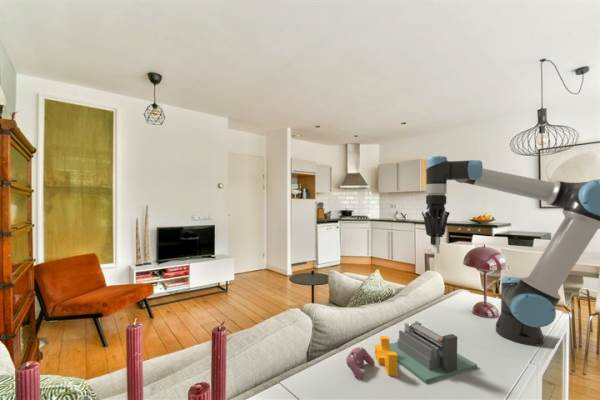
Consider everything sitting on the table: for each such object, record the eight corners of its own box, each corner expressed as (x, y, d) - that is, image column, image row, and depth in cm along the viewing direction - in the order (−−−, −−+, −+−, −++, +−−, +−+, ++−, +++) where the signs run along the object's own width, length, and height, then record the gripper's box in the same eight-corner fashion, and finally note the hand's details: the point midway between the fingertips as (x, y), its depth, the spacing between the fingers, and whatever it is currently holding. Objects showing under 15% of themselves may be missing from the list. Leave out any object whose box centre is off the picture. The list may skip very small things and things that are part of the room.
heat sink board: (426, 338, 109) (426, 308, 109) (477, 367, 90) (477, 332, 90) (380, 348, 100) (380, 316, 100) (425, 383, 81) (425, 344, 81)
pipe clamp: (374, 354, 97) (375, 335, 97) (387, 355, 97) (387, 336, 97) (382, 375, 85) (382, 354, 85) (397, 376, 85) (397, 355, 85)
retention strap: (414, 326, 102) (414, 320, 102) (449, 346, 89) (449, 339, 89) (407, 327, 101) (408, 322, 101) (441, 347, 87) (441, 341, 87)
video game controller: (364, 366, 92) (356, 344, 94) (376, 364, 89) (367, 342, 91) (350, 381, 84) (341, 356, 86) (362, 380, 82) (353, 354, 84)
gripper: (440, 195, 120) (439, 250, 120) (416, 194, 115) (415, 251, 115) (455, 195, 113) (454, 253, 113) (431, 194, 108) (430, 255, 108)
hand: (435, 252), depth 114 cm, fingers closed
